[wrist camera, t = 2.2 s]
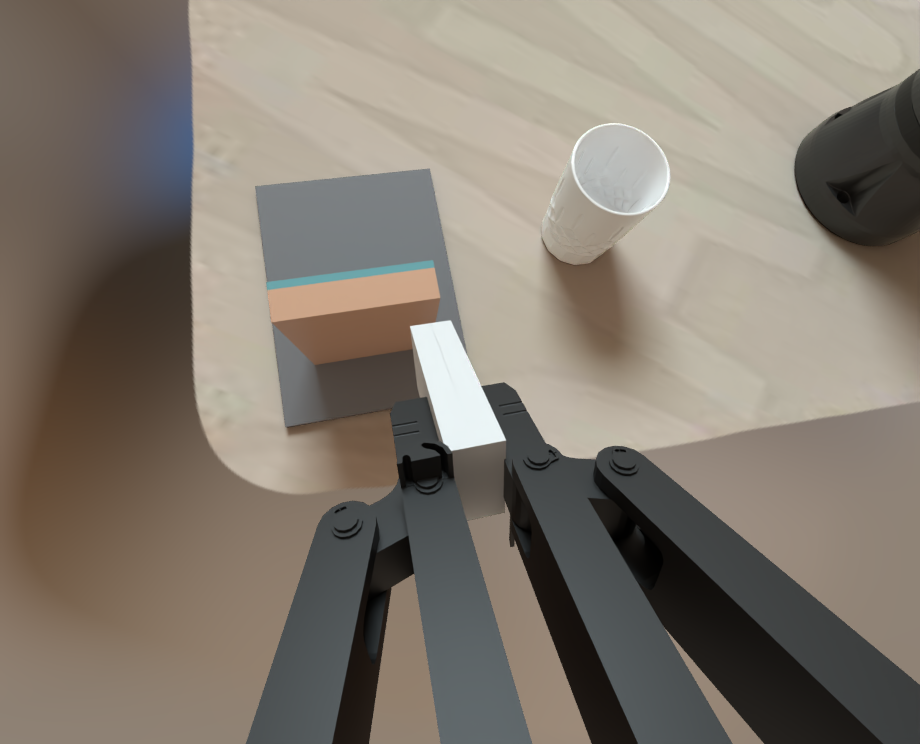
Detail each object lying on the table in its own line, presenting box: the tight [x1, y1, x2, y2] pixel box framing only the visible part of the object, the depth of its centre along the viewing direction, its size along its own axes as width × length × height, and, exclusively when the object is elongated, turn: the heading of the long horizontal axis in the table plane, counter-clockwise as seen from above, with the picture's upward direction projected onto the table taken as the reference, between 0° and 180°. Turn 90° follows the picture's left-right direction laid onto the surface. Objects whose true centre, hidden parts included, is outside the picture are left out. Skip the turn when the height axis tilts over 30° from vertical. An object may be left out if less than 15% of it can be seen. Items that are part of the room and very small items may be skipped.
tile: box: [266, 260, 440, 365], centre depth 32 cm, size 2×10×12 cm, turn 101°
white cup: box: [542, 123, 670, 265], centre depth 38 cm, size 8×8×10 cm
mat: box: [255, 169, 467, 427], centre depth 39 cm, size 22×16×1 cm
